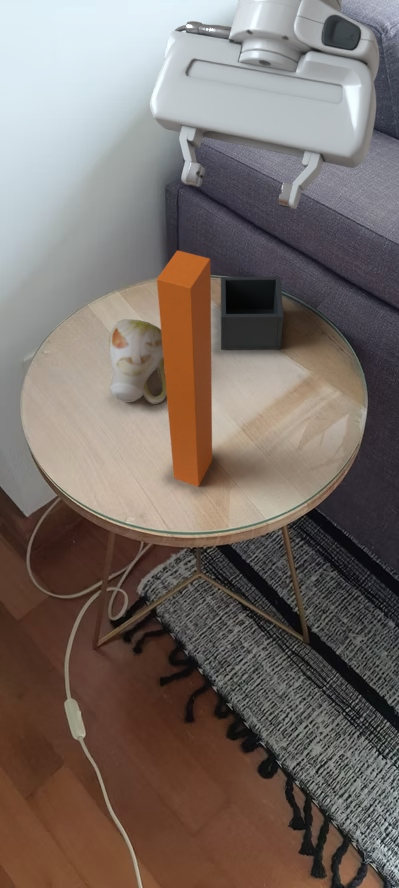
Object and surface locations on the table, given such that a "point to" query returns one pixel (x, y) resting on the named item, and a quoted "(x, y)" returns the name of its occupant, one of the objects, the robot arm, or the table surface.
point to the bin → (251, 313)
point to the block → (187, 362)
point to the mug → (136, 360)
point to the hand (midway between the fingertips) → (237, 195)
